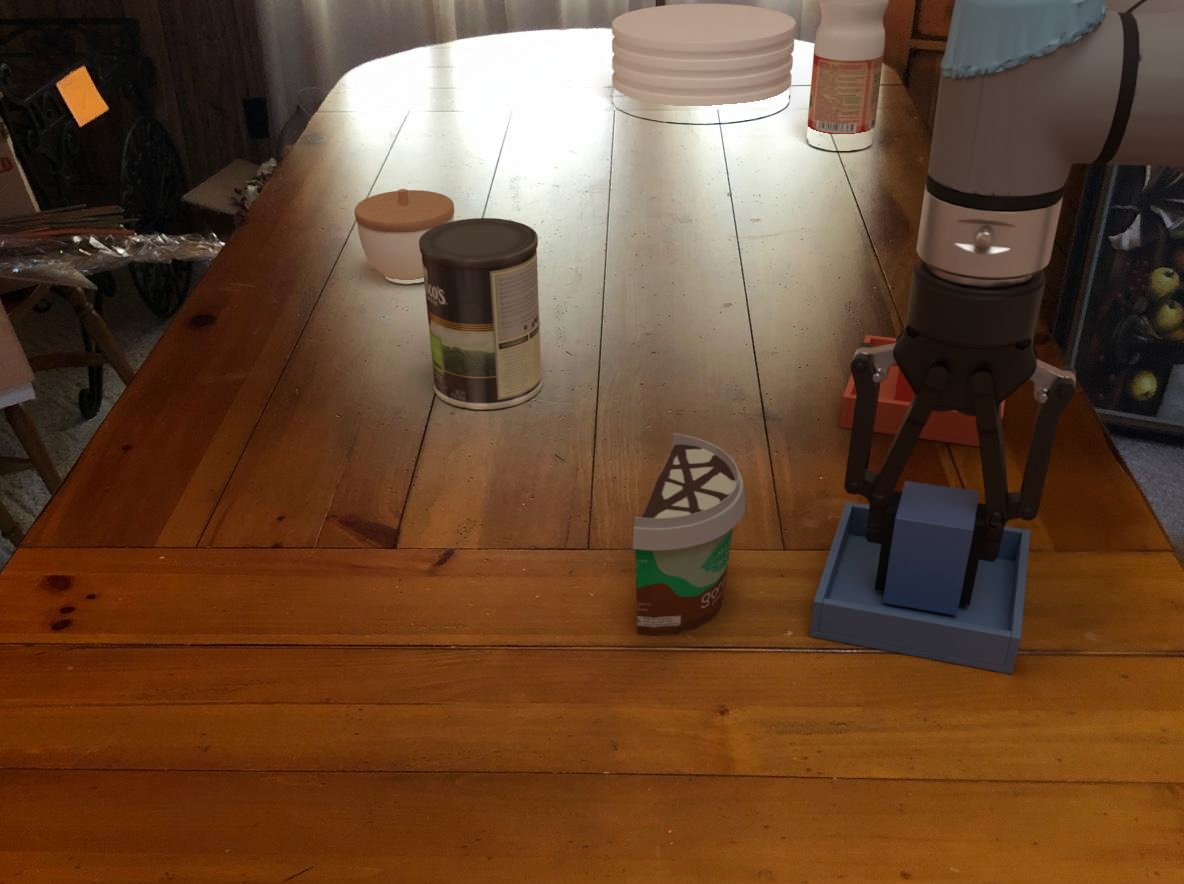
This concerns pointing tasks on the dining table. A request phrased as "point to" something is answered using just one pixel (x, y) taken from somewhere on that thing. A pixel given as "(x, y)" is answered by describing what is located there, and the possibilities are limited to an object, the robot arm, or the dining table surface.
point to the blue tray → (964, 639)
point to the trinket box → (400, 229)
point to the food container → (686, 538)
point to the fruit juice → (847, 66)
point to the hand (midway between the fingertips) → (923, 586)
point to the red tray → (892, 412)
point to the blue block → (930, 547)
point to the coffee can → (483, 312)
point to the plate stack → (702, 54)
